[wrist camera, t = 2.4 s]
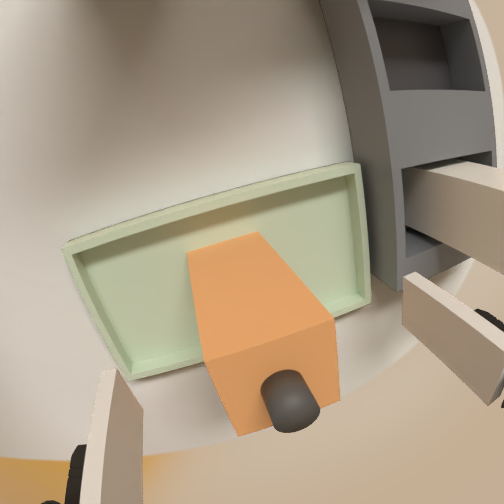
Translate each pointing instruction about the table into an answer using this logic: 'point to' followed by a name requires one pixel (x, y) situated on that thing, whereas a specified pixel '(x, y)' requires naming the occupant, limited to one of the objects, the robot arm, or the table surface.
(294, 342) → the orange knobbed block
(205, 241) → the tray
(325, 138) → the table surface
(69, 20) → the table surface
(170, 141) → the table surface
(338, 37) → the grey two-slot holder
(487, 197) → the white knobbed peg block
